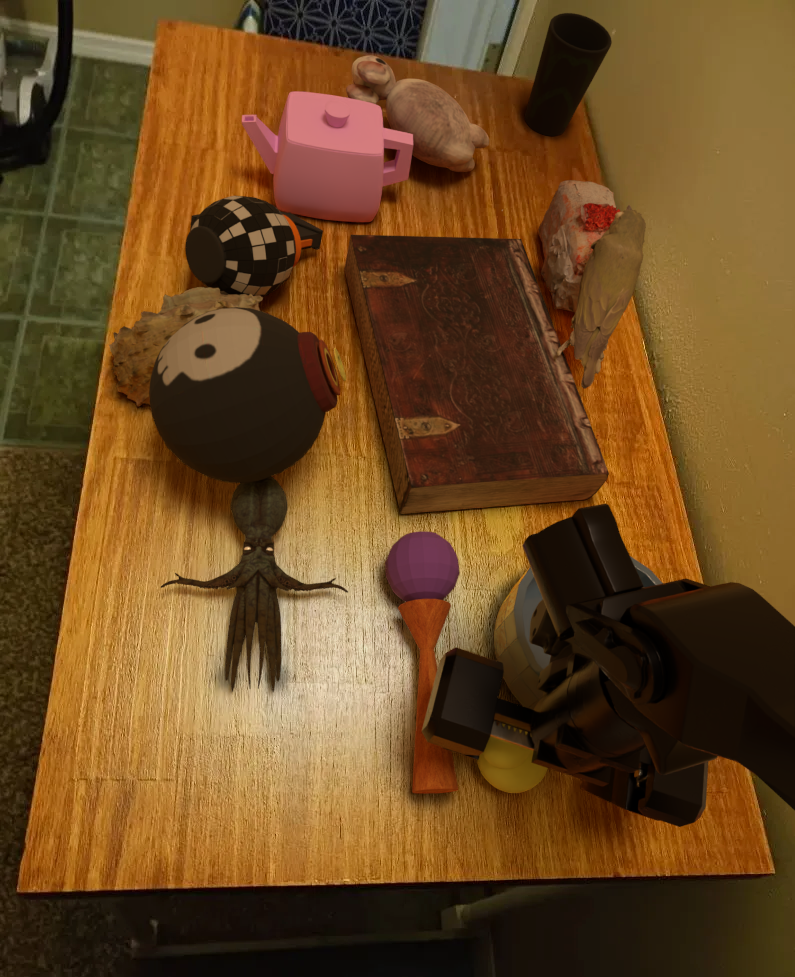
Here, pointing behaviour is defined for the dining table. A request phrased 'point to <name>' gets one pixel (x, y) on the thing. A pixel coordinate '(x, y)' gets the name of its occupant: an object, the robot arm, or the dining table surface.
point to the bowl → (514, 635)
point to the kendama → (425, 637)
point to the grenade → (247, 245)
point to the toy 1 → (242, 393)
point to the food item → (573, 236)
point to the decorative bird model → (606, 290)
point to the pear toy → (509, 766)
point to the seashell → (163, 335)
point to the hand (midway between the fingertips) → (525, 762)
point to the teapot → (330, 156)
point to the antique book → (468, 375)
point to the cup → (565, 71)
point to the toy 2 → (420, 114)
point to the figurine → (256, 577)
